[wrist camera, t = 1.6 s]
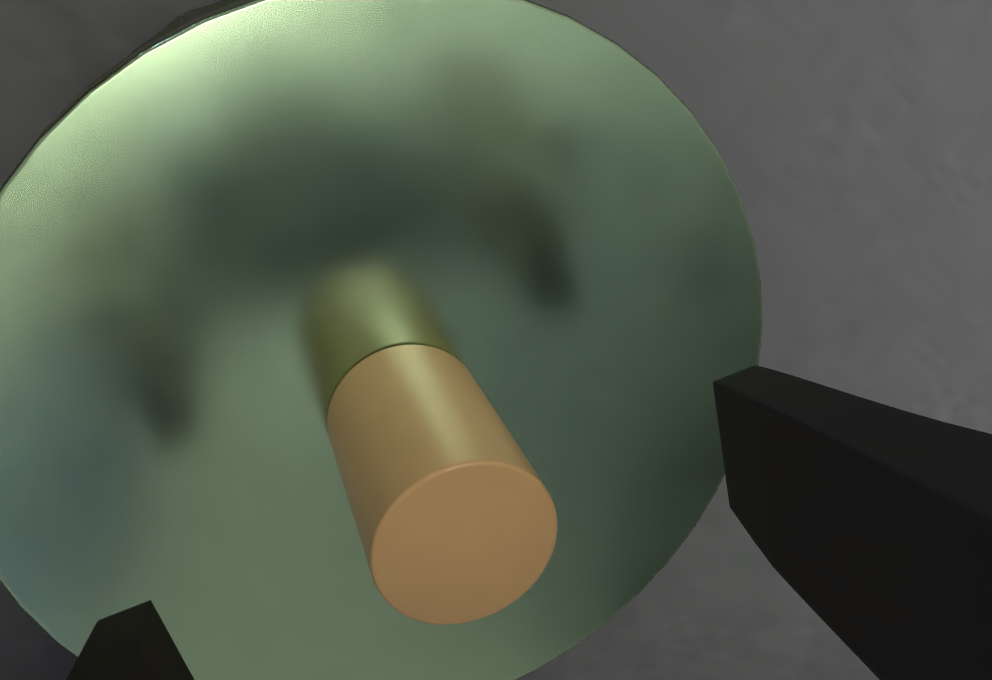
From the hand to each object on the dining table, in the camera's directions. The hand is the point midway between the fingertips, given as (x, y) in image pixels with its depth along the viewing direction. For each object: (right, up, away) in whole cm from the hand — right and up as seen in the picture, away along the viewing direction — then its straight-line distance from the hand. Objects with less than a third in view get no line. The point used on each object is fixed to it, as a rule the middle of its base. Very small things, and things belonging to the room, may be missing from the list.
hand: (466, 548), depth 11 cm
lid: (-1, +2, +4) cm, 4 cm away
